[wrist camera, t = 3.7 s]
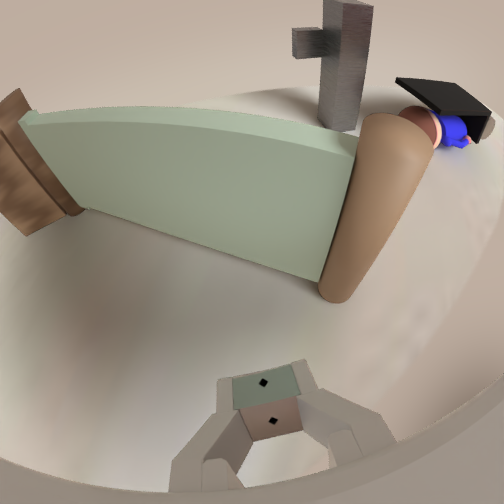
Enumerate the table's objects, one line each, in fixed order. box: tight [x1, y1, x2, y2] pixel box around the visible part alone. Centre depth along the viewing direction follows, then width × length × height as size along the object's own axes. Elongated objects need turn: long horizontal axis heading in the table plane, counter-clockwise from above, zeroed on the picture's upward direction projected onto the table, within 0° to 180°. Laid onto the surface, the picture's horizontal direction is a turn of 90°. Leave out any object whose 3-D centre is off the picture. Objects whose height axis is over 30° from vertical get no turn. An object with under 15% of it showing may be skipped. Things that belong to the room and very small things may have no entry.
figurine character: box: [395, 77, 495, 149], centre depth 22 cm, size 7×8×15 cm
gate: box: [18, 106, 434, 303], centre depth 15 cm, size 24×2×12 cm, turn 68°
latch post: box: [292, 0, 373, 132], centre depth 20 cm, size 6×4×14 cm
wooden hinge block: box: [0, 88, 85, 236], centre depth 18 cm, size 10×3×14 cm, turn 108°
